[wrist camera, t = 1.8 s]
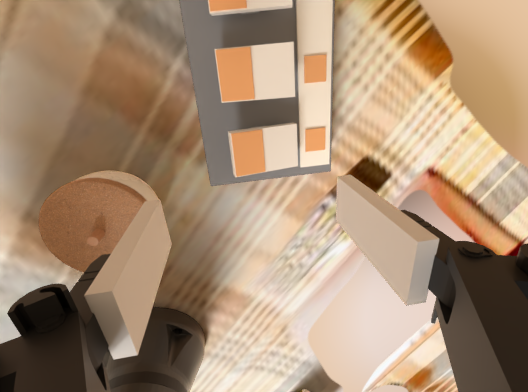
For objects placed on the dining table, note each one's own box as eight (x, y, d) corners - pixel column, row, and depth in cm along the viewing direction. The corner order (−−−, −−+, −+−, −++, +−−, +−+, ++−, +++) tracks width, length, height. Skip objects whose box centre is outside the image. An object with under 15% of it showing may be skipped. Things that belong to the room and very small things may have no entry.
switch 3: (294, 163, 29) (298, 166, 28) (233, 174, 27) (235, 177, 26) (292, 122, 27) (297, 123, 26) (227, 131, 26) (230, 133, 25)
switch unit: (319, 162, 35) (334, 174, 30) (212, 174, 34) (210, 190, 29) (320, -54, 26) (342, -85, 21) (174, -49, 25) (163, -81, 20)
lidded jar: (79, 149, 30) (23, 175, 22) (176, 170, 33) (161, 201, 24) (76, 230, 34) (27, 279, 25) (164, 243, 36) (146, 292, 28)
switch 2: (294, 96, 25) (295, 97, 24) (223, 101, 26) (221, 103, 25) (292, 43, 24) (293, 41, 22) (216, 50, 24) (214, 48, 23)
